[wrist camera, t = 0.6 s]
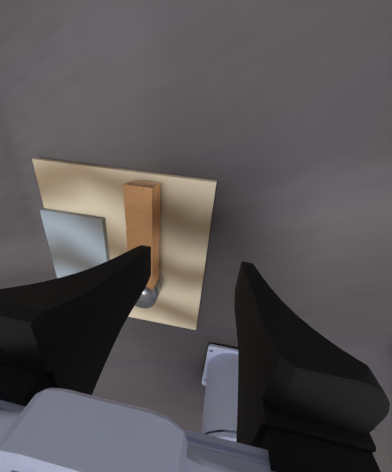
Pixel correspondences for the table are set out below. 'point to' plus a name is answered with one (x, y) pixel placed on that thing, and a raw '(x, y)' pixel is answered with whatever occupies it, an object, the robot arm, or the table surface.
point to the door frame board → (114, 229)
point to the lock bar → (144, 230)
